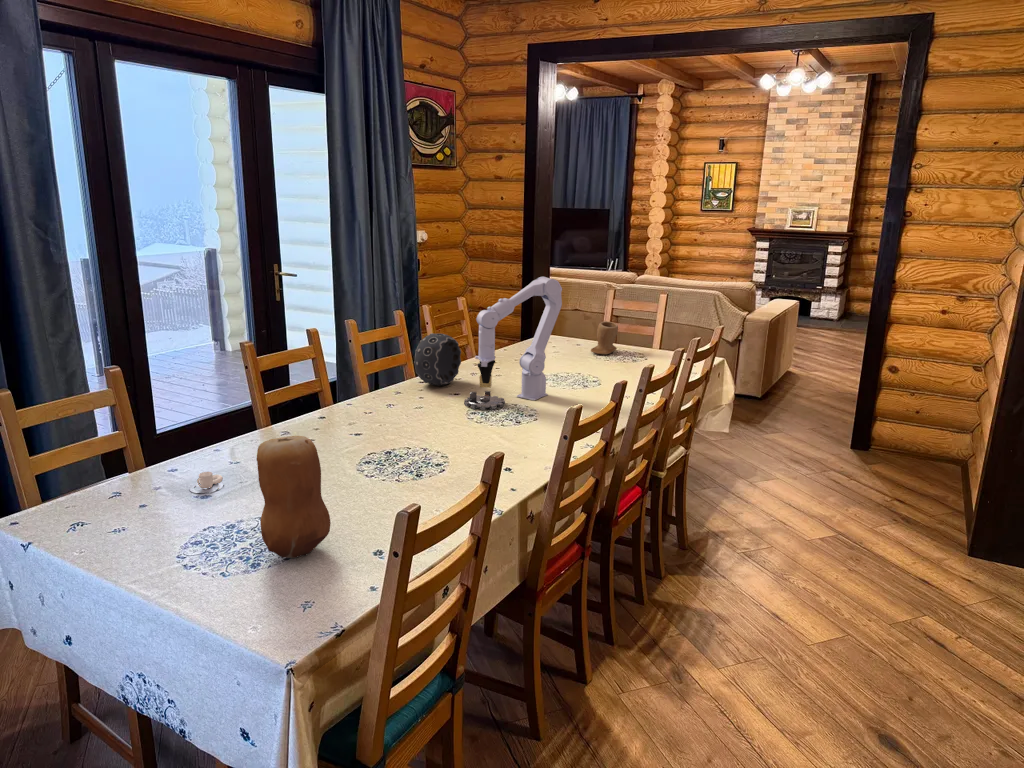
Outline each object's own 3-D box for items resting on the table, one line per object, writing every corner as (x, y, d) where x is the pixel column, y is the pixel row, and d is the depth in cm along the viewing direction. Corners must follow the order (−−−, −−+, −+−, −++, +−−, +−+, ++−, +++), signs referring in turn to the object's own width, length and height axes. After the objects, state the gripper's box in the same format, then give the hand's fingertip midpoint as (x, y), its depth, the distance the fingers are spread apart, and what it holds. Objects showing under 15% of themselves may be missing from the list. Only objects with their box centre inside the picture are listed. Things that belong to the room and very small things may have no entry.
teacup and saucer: (217, 479, 178) (215, 464, 177) (233, 487, 173) (231, 472, 172) (183, 489, 172) (181, 474, 171) (199, 498, 167) (197, 483, 166)
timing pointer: (490, 398, 253) (490, 391, 252) (484, 398, 253) (484, 391, 252) (490, 397, 254) (490, 391, 253) (485, 397, 254) (485, 391, 253)
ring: (412, 388, 264) (411, 336, 259) (440, 377, 281) (440, 328, 276) (435, 392, 259) (435, 340, 254) (463, 380, 276) (463, 331, 271)
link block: (479, 387, 246) (479, 376, 245) (480, 385, 249) (480, 374, 248) (490, 387, 246) (490, 376, 245) (491, 385, 249) (491, 374, 248)
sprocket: (458, 400, 248) (458, 388, 247) (494, 396, 254) (494, 383, 253) (474, 411, 236) (474, 398, 234) (512, 406, 242) (512, 393, 241)
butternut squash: (288, 533, 150) (280, 423, 143) (343, 542, 146) (338, 431, 140) (247, 564, 137) (236, 445, 131) (306, 575, 133) (298, 454, 127)
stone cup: (610, 357, 321) (612, 325, 317) (587, 354, 327) (588, 322, 323) (623, 351, 334) (624, 321, 330) (600, 348, 340) (601, 318, 336)
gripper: (478, 340, 251) (477, 376, 255) (472, 348, 237) (472, 386, 241) (497, 340, 251) (496, 377, 254) (493, 349, 237) (492, 387, 240)
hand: (486, 381), depth 247 cm, fingers closed on link block, 3 cm apart
